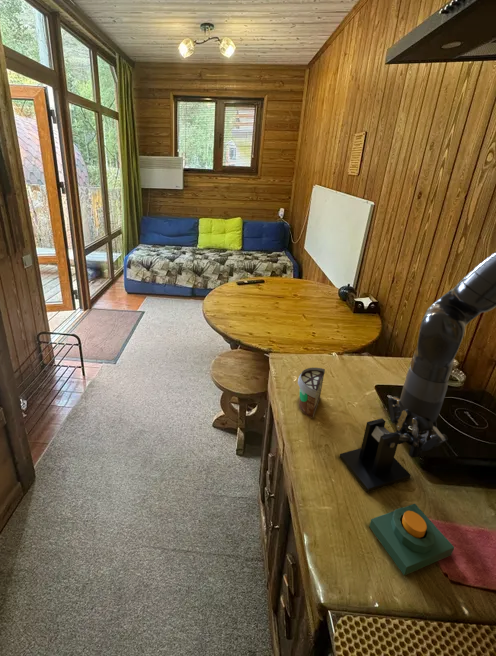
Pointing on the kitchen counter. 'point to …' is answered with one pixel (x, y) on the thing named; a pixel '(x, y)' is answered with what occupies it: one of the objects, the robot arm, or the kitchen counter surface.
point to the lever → (381, 431)
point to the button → (414, 524)
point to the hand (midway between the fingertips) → (406, 448)
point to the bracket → (376, 460)
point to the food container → (310, 389)
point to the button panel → (410, 540)
